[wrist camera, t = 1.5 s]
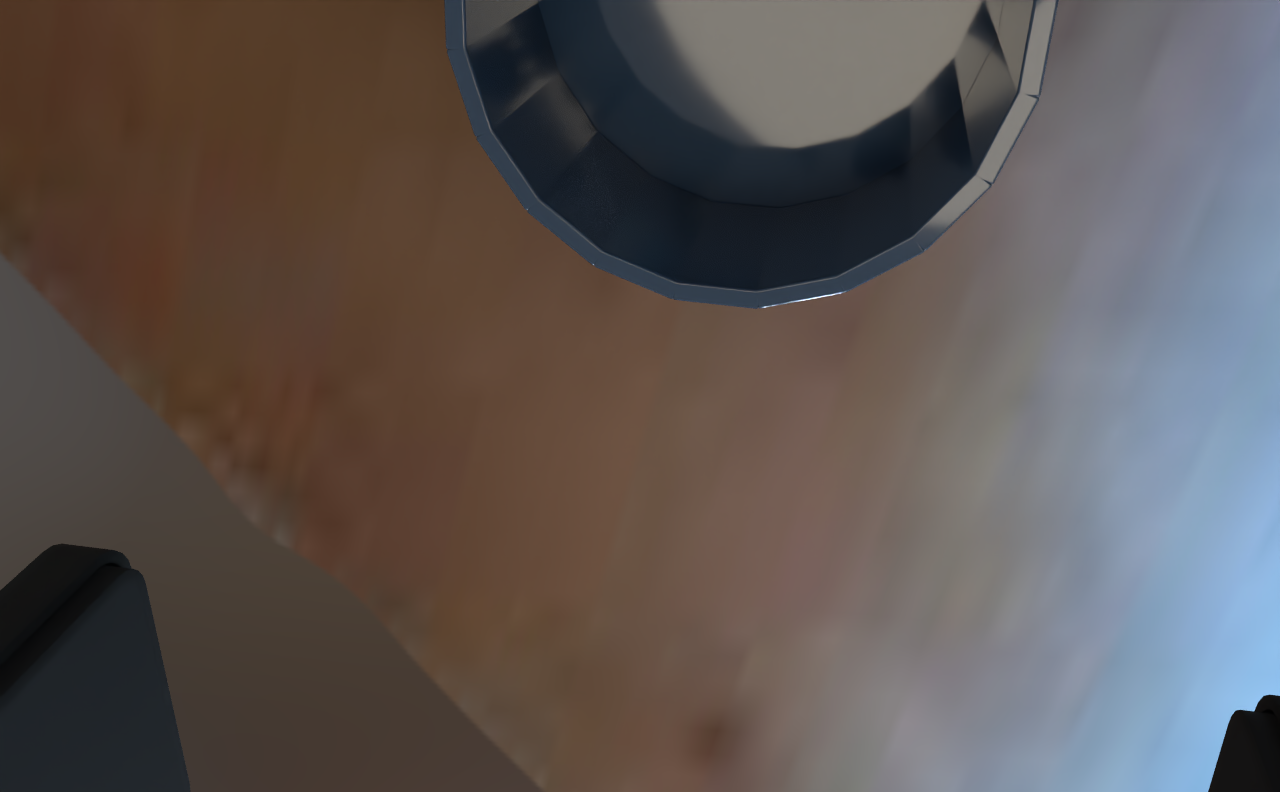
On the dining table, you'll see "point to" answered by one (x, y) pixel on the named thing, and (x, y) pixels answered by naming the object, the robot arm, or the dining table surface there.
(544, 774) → the dining table surface
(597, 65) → the dark grey round bowl
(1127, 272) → the dining table surface
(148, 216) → the dining table surface
